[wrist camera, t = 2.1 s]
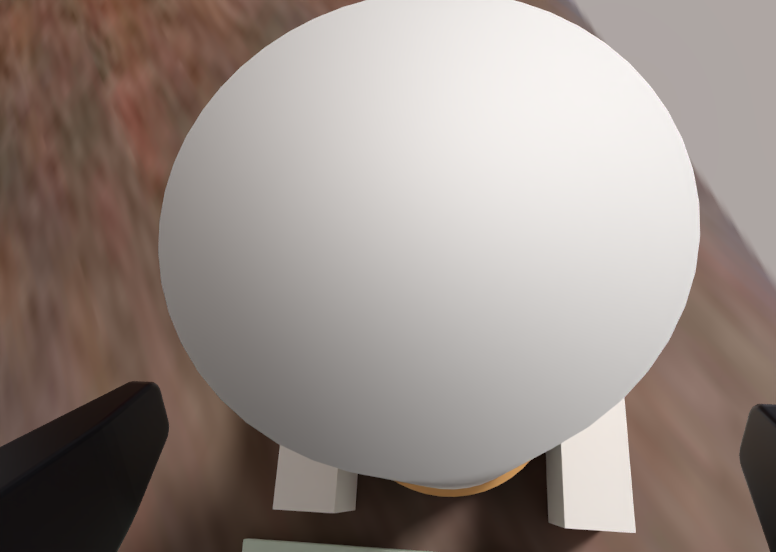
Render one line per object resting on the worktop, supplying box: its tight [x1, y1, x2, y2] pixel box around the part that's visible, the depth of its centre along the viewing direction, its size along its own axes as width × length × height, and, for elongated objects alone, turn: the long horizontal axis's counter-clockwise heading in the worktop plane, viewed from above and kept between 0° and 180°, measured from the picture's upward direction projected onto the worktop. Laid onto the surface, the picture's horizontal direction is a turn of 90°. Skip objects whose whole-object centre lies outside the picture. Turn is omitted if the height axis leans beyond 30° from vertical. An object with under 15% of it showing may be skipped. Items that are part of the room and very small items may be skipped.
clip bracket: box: [273, 398, 636, 533], centre depth 17 cm, size 8×9×3 cm
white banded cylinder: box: [158, 0, 700, 497], centre depth 12 cm, size 5×5×14 cm
